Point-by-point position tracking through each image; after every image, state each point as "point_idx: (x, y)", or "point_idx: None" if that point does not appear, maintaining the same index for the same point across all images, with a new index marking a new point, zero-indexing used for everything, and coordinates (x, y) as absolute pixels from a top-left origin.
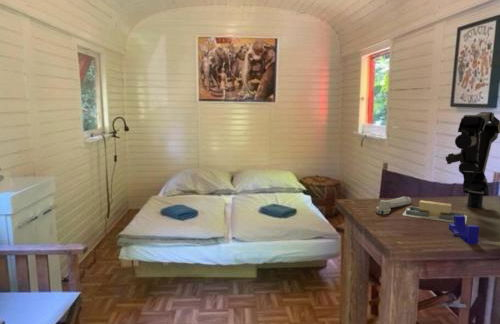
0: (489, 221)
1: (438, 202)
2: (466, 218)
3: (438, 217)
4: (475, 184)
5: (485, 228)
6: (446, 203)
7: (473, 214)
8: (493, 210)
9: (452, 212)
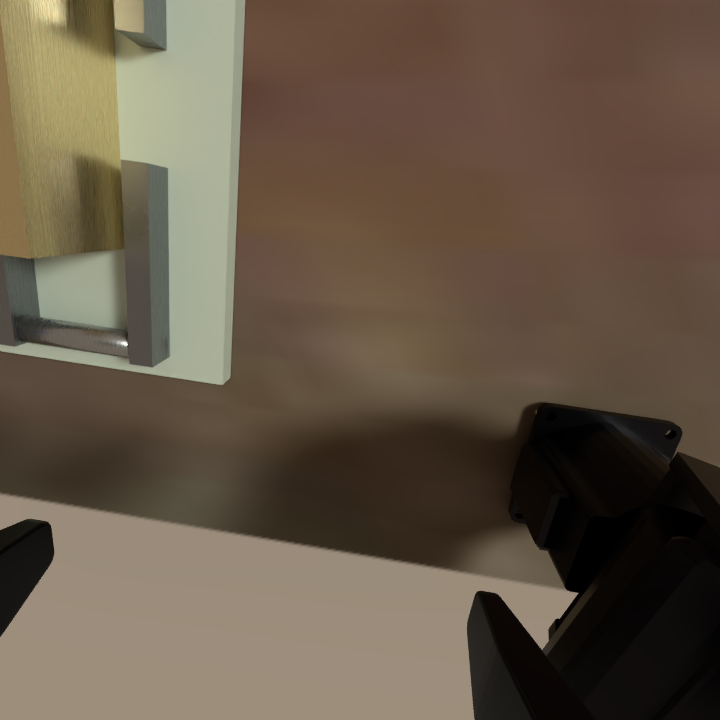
0: (220, 502)
1: (8, 95)
2: (134, 369)
3: None
4: (596, 682)
5: (39, 454)
6: (20, 202)
7: (364, 434)
8: (538, 575)
9: (125, 269)
